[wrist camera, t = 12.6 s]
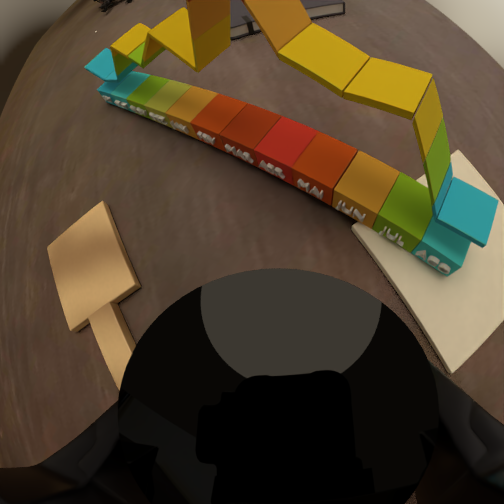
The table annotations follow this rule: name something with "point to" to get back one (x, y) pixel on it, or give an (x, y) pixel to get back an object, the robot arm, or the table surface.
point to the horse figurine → (107, 4)
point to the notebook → (242, 23)
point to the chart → (300, 136)
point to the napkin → (449, 282)
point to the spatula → (96, 283)
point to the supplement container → (278, 396)
